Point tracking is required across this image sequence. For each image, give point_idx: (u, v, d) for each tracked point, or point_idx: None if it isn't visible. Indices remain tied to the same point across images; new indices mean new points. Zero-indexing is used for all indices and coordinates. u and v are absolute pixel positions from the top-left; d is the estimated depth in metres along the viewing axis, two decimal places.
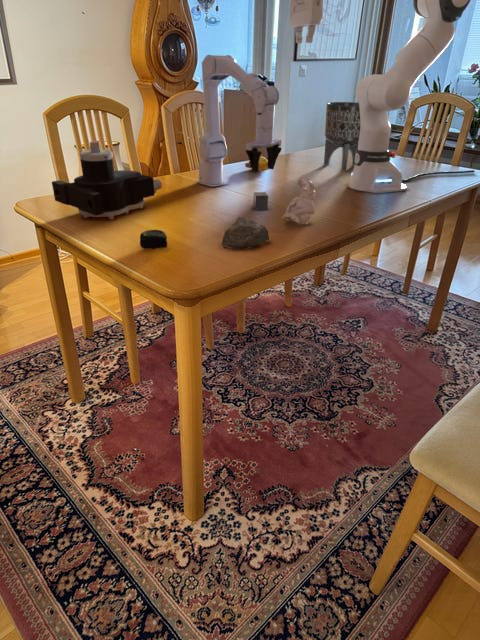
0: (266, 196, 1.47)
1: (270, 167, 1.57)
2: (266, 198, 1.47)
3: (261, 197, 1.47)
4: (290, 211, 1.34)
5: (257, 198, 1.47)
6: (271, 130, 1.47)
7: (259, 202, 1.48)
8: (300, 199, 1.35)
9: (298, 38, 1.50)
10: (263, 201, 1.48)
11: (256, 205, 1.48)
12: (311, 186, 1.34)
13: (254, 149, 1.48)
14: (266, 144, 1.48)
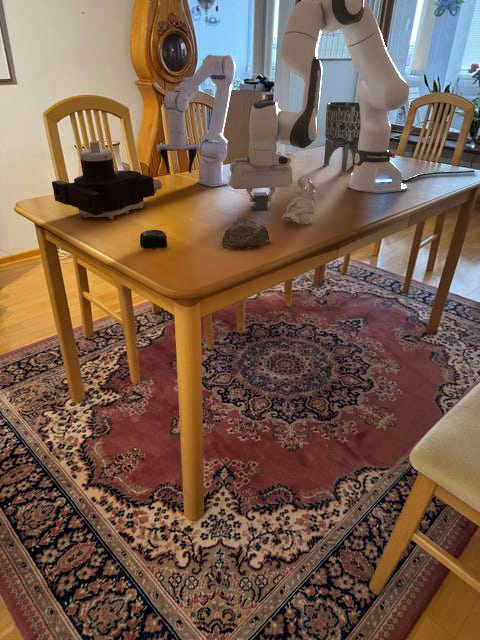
0: (266, 196, 1.47)
1: (189, 170, 1.61)
2: (266, 198, 1.47)
3: (261, 197, 1.47)
4: (290, 211, 1.34)
5: (257, 198, 1.47)
6: (178, 134, 1.52)
7: (259, 202, 1.48)
8: (300, 199, 1.35)
9: None
10: (263, 201, 1.48)
11: (256, 205, 1.48)
12: (311, 186, 1.34)
13: (163, 151, 1.56)
14: (173, 147, 1.54)
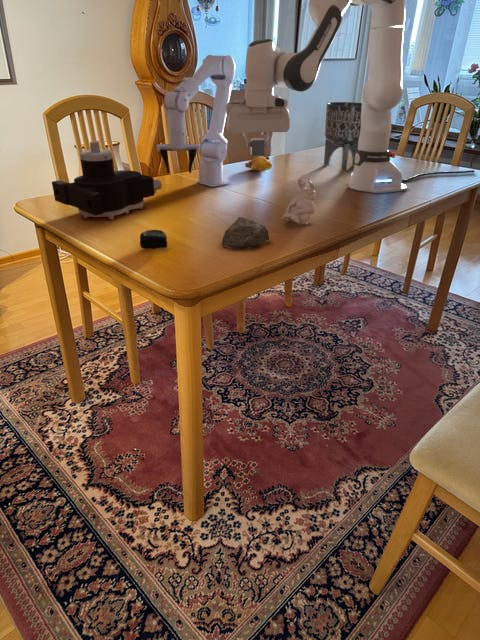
0: (262, 140, 1.45)
1: (189, 170, 1.61)
2: (262, 143, 1.46)
3: (257, 142, 1.45)
4: (290, 211, 1.34)
5: (253, 143, 1.46)
6: (178, 134, 1.52)
7: (255, 147, 1.46)
8: (300, 199, 1.35)
9: None
10: (259, 146, 1.46)
11: (252, 150, 1.47)
12: (311, 186, 1.34)
13: (163, 151, 1.56)
14: (173, 147, 1.54)
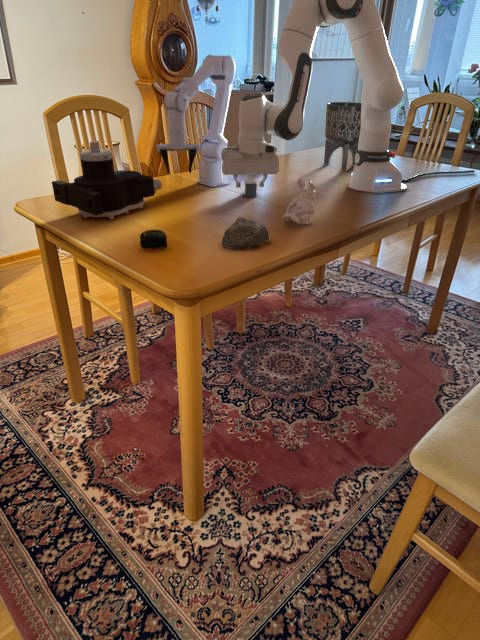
0: (254, 184, 1.61)
1: (189, 170, 1.61)
2: (255, 186, 1.61)
3: (250, 185, 1.61)
4: (290, 211, 1.34)
5: (246, 186, 1.61)
6: (178, 134, 1.52)
7: (248, 190, 1.61)
8: (300, 199, 1.35)
9: (259, 182, 1.63)
10: (252, 189, 1.61)
11: (245, 192, 1.62)
12: (311, 186, 1.34)
13: (163, 151, 1.56)
14: (173, 147, 1.54)
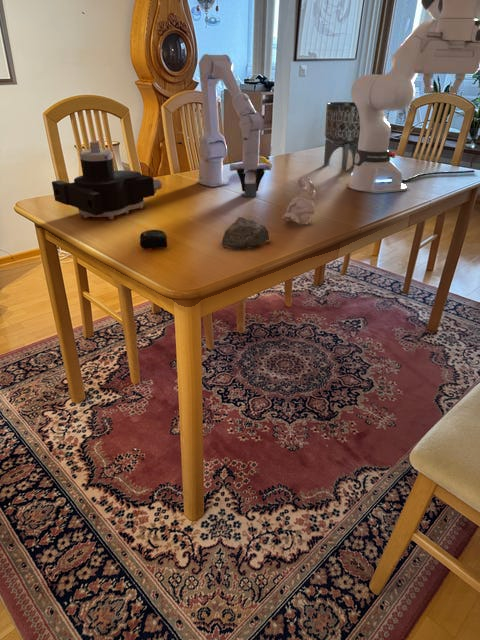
0: (254, 184, 1.61)
1: None
2: (254, 186, 1.61)
3: (250, 185, 1.61)
4: (290, 211, 1.34)
5: (246, 186, 1.61)
6: (253, 154, 1.55)
7: (248, 190, 1.61)
8: (300, 199, 1.35)
9: (451, 87, 1.25)
10: (252, 189, 1.61)
11: (245, 192, 1.62)
12: (311, 186, 1.34)
13: (240, 170, 1.59)
14: (247, 167, 1.57)
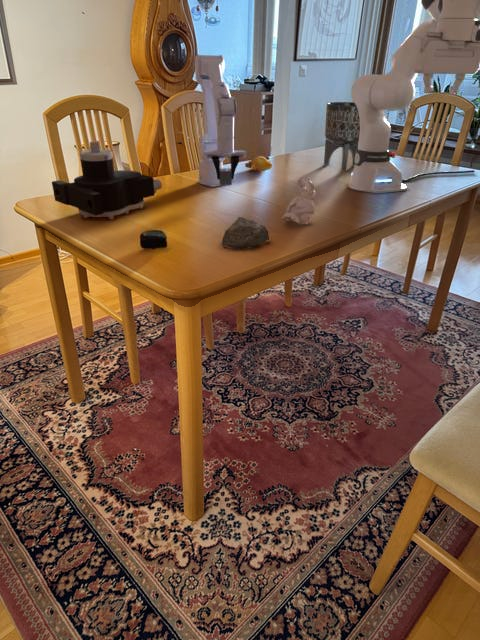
0: (229, 171, 1.57)
1: None
2: (230, 173, 1.57)
3: (225, 172, 1.57)
4: (290, 211, 1.34)
5: (221, 173, 1.57)
6: (227, 140, 1.51)
7: (223, 177, 1.57)
8: (300, 199, 1.35)
9: (451, 87, 1.25)
10: (227, 176, 1.57)
11: (220, 180, 1.58)
12: (311, 186, 1.34)
13: (215, 157, 1.55)
14: (221, 153, 1.53)
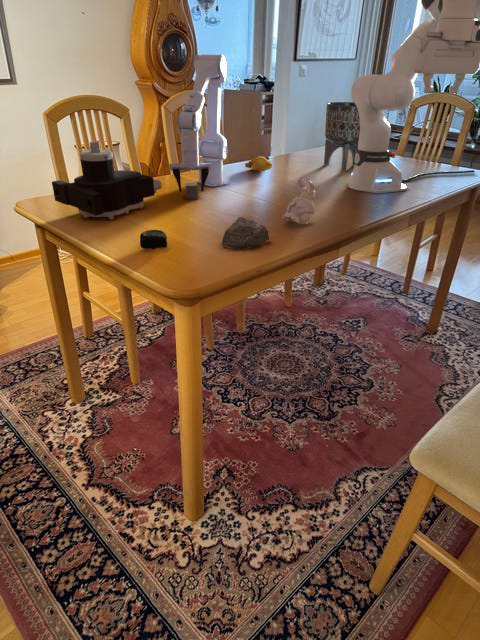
0: (195, 186, 1.56)
1: (201, 189, 1.59)
2: (196, 188, 1.57)
3: (191, 187, 1.56)
4: (290, 211, 1.34)
5: (187, 188, 1.56)
6: (191, 153, 1.50)
7: (189, 192, 1.57)
8: (300, 199, 1.35)
9: (451, 87, 1.25)
10: (193, 191, 1.57)
11: (186, 195, 1.57)
12: (311, 186, 1.34)
13: (175, 170, 1.54)
14: (186, 166, 1.52)
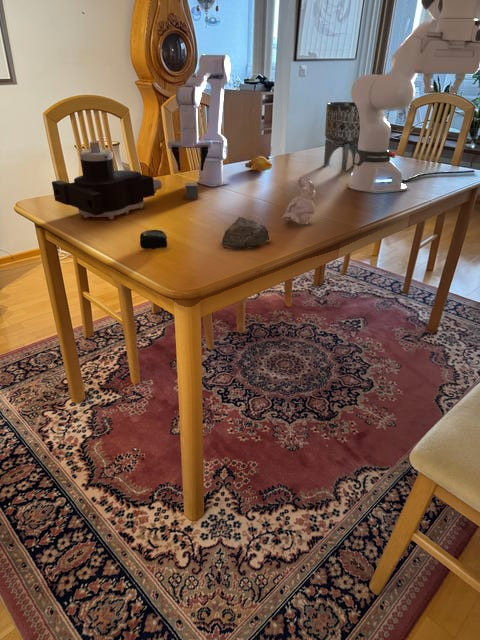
0: (195, 186, 1.56)
1: (200, 168, 1.56)
2: (196, 188, 1.57)
3: (191, 187, 1.56)
4: (290, 211, 1.34)
5: (187, 188, 1.56)
6: (190, 131, 1.47)
7: (189, 192, 1.57)
8: (300, 199, 1.35)
9: (451, 87, 1.25)
10: (193, 191, 1.57)
11: (186, 195, 1.57)
12: (311, 186, 1.34)
13: (174, 148, 1.50)
14: (185, 144, 1.49)
